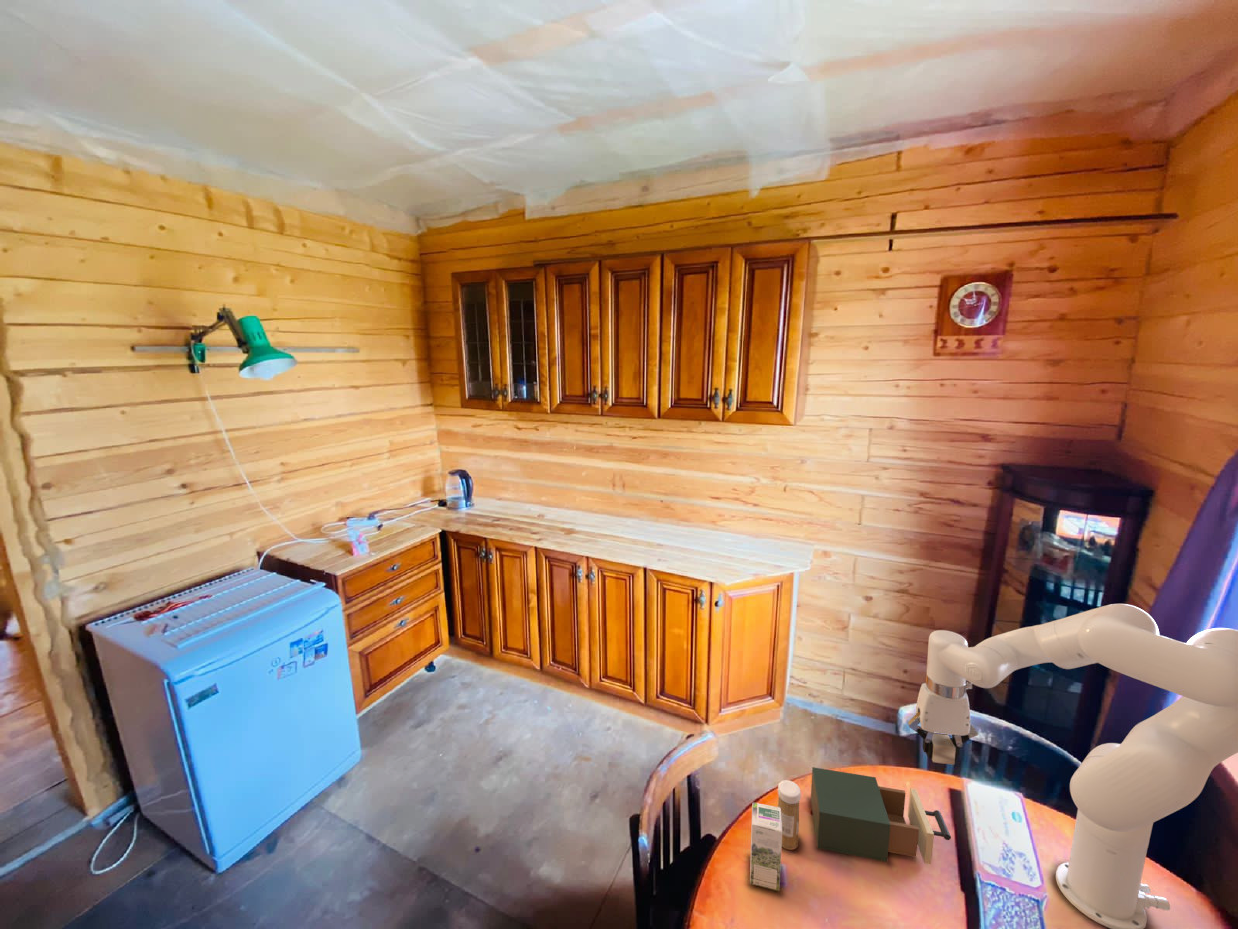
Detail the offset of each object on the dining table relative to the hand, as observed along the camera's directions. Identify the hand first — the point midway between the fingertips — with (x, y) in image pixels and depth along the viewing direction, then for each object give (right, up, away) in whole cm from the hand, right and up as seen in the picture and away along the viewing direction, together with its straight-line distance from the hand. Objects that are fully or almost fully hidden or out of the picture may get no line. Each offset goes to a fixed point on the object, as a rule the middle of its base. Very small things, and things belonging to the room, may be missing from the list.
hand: (940, 755), depth 118 cm
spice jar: (-39, -14, -9) cm, 42 cm away
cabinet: (-25, -13, -6) cm, 29 cm away
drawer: (-15, -12, -9) cm, 21 cm away
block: (0, 0, 0) cm, 0 cm away
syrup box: (-46, -15, -16) cm, 51 cm away
